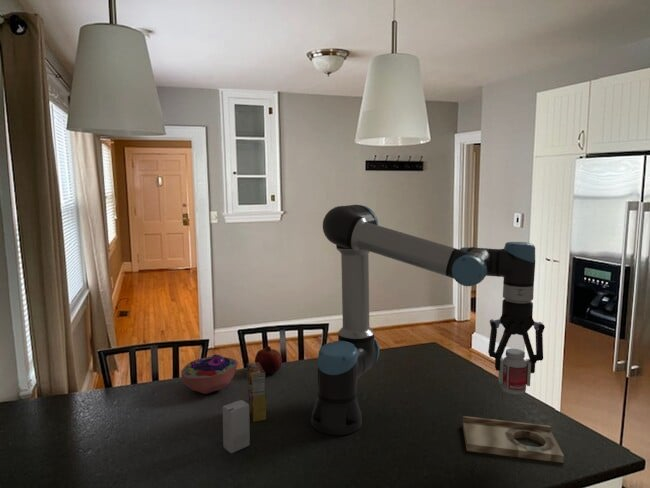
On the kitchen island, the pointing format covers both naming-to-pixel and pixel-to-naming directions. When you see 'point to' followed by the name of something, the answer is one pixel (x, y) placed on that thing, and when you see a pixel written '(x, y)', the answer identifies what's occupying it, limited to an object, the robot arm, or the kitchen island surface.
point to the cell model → (209, 373)
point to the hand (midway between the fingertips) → (513, 382)
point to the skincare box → (236, 426)
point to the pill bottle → (514, 372)
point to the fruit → (269, 360)
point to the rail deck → (510, 439)
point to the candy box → (256, 391)
